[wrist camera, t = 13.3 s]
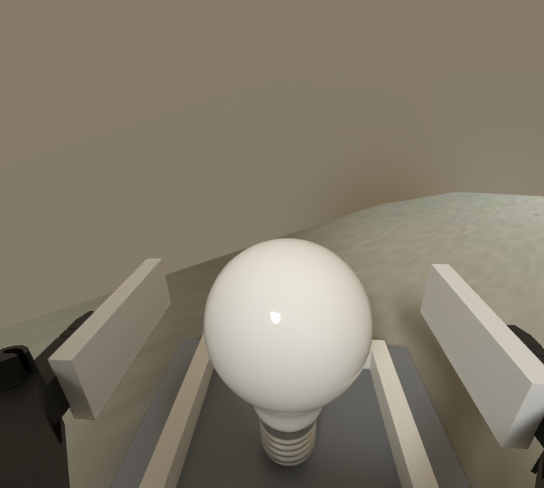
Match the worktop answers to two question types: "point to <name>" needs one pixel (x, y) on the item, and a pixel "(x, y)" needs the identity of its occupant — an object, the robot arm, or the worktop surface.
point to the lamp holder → (328, 444)
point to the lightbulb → (288, 337)
